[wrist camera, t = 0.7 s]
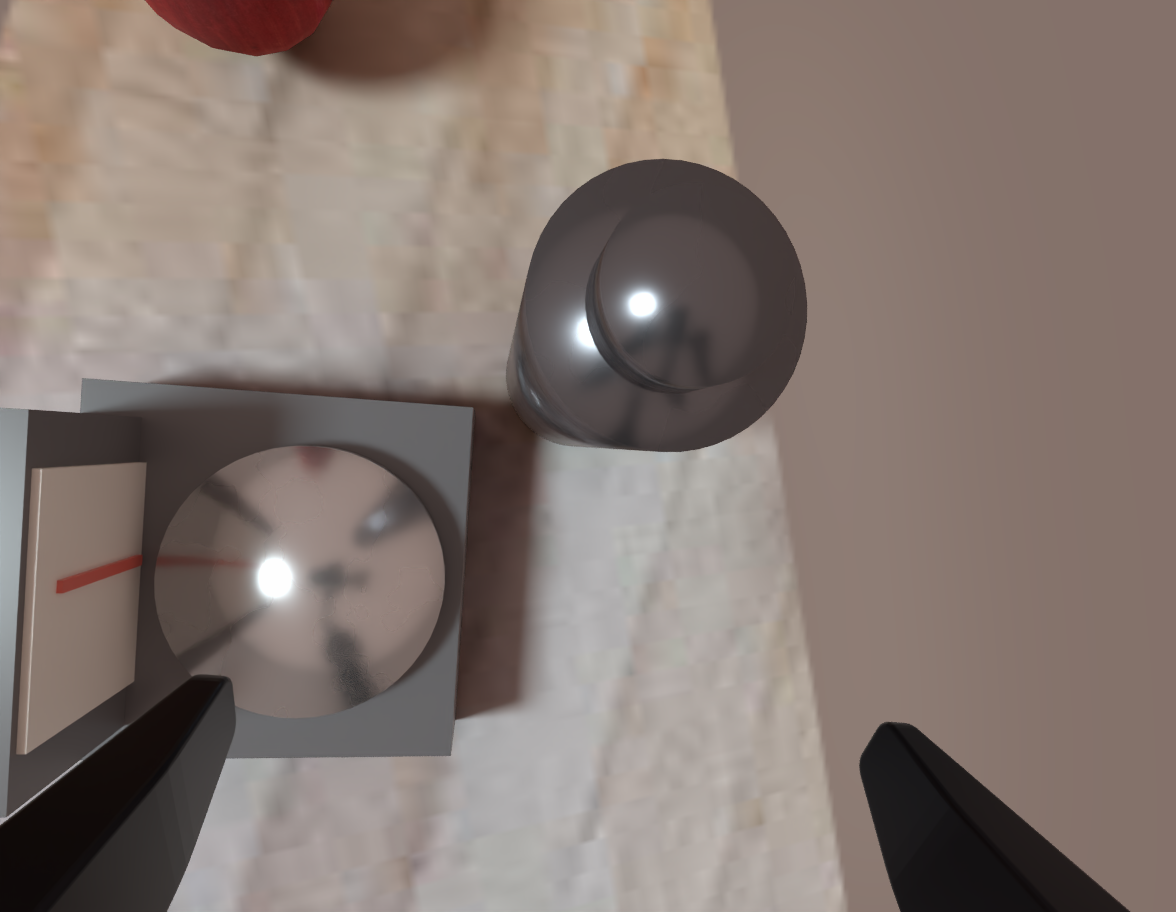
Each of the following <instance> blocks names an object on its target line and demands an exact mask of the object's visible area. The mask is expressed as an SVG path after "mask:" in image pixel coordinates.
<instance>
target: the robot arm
mask: <svg viewBox="0 0 1176 912" xmlns="http://www.w3.org/2000/svg"><path fill="white" fill-rule="evenodd" d="M235 728H236V712H235V703H234V693H233V685H232V681H231V679H230V678H229V677H227V676H220V675H206V674H198V675H194V676H192V677H190V678H189V679H187V680H186V681H184V682H183V683H182V684H181V685H179V686H178V687H177V688H176V689H174V690H173V691H172V692H170V693H169V694H168V695H167V696H165V697H164V698H163V699H161V700H160V701H159V702H158V703H156V704H155V705H154V706H152V707H151V708H150V709H149V710H147V711H146V712H145V713H143V714H142V715H141V716H140V717H138V718H137V719H136V720H135V721H133V722H132V723H131V724H129V725H128V726H127V727H126V728H124V729H123V730H122V731H120V732H119V733H118V734H117V735H115V736H114V737H113V738H111V739H110V740H109V741H108V742H106V743H105V744H104V745H103V746H101V747H100V748H99V749H97V750H96V751H95V752H94V753H92V754H91V755H90V756H88V757H87V758H86V759H85V760H83V761H82V762H81V763H79V764H78V765H77V766H76V767H74V768H73V769H72V770H70V771H69V772H68V773H67V774H65V775H64V776H63V777H62V778H60V779H59V780H58V781H56V782H55V783H54V784H53V785H51V786H50V787H49V788H47V789H46V790H45V791H44V792H42V793H41V794H40V795H38V796H37V797H36V798H35V799H33V800H32V801H31V802H29V803H28V804H27V805H26V806H24V807H23V808H22V809H21V810H19V811H18V812H17V813H15V814H14V815H13V816H12V817H10V818H9V819H8V820H6V821H5V822H4V823H3V824H1V825H0V912H167V910H168V908H169V906H170V904H171V902H172V900H173V897H174V895H175V893H176V891H177V889H178V887H179V884H180V882H181V880H182V878H183V875H184V873H185V871H186V868H187V866H188V863H189V861H190V858H191V855H192V853H193V850H194V847H195V845H196V842H197V839H198V836H199V833H200V830H201V828H202V825H203V822H204V819H205V816H206V813H207V811H208V808H209V805H210V802H211V799H212V797H213V794H214V791H215V788H216V785H217V782H218V780H219V777H220V774H221V771H222V768H223V765H224V763H225V760H226V757H227V754H228V751H229V748H230V746H231V743H232V740H233V737H234V733H235ZM859 766H860V775H861V779H862V782H863V786H864V790H865V793H866V797H867V800H868V804H869V808H870V811H871V815H872V819H873V822H874V826H875V830H876V833H877V837H878V841H879V845H880V848H881V852H882V856H883V859H884V863H885V866H886V870H887V873H888V876H889V879H890V883H891V886H892V889H893V892H894V895H895V898H896V901H897V903H898V906H899V909H900V911H901V912H1130V911H1129V910H1128V909H1126V907H1124V906H1123V905H1122V904H1121V903H1120V902H1119V901H1117V900H1116V899H1115V898H1114V897H1112V896H1111V895H1110V894H1109V893H1108V892H1107V891H1106V890H1105V889H1103V888H1102V887H1101V886H1100V885H1099V884H1098V883H1096V882H1095V881H1094V880H1093V879H1092V878H1091V877H1089V876H1088V875H1087V874H1086V873H1085V872H1084V871H1082V870H1081V869H1080V868H1079V867H1078V866H1077V865H1075V864H1074V863H1073V862H1072V861H1070V859H1068V858H1067V857H1066V856H1065V855H1064V854H1062V853H1061V852H1060V851H1059V850H1058V849H1057V848H1056V847H1055V846H1053V845H1052V844H1051V843H1050V842H1049V841H1048V840H1046V839H1045V838H1044V837H1043V836H1042V835H1041V834H1039V833H1038V832H1037V831H1036V830H1035V829H1034V828H1032V827H1031V826H1030V825H1029V824H1028V823H1026V822H1025V821H1024V820H1023V819H1022V818H1021V817H1020V816H1018V815H1017V814H1016V813H1015V812H1014V811H1013V810H1011V809H1010V808H1009V807H1008V806H1007V805H1005V804H1004V803H1003V802H1002V801H1001V800H1000V799H999V798H997V797H996V796H995V795H994V794H993V793H992V792H990V791H989V790H988V789H987V788H986V787H984V786H983V785H982V784H981V783H980V782H979V781H978V780H976V779H975V778H974V777H973V776H972V775H971V774H969V773H968V772H967V771H966V770H965V769H964V768H962V767H961V766H960V765H959V764H958V763H956V762H955V761H954V760H953V759H952V758H951V757H950V756H948V755H947V754H946V753H945V752H944V751H943V750H941V749H940V748H939V747H938V746H937V745H935V744H934V743H933V742H932V741H931V740H930V739H929V738H928V737H926V736H925V735H924V734H923V733H922V732H921V731H919V730H918V729H917V728H916V727H914V726H912V725H910V724H907V723H897V722H884V723H882V724H881V725H880V726H879V727H878V728H877V730H876V732H875V733H874V735H873V736H872V738H871V740H870V741H869V743H868V745H867V746H866V748H865V750H864V751H863V753H862V755H861V758H860V765H859Z"/></svg>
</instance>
